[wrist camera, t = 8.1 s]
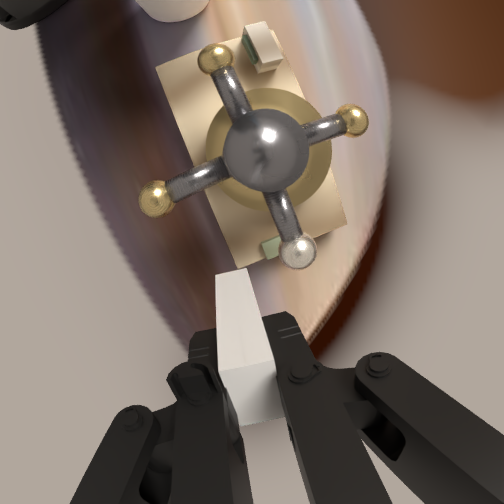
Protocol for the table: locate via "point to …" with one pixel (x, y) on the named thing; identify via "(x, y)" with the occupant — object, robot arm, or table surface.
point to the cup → (172, 9)
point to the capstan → (260, 154)
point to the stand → (197, 125)
